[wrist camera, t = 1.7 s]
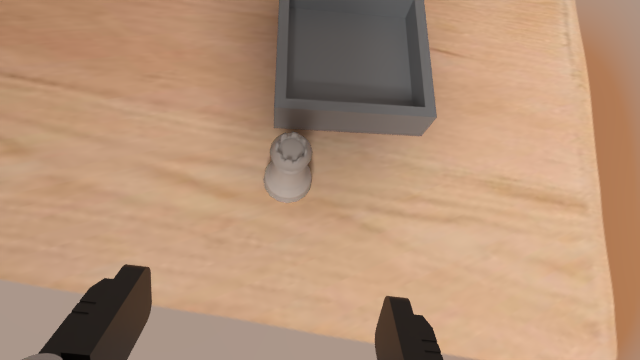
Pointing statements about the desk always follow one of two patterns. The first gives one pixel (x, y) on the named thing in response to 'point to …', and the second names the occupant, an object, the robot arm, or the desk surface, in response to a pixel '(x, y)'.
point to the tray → (354, 67)
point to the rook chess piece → (289, 168)
